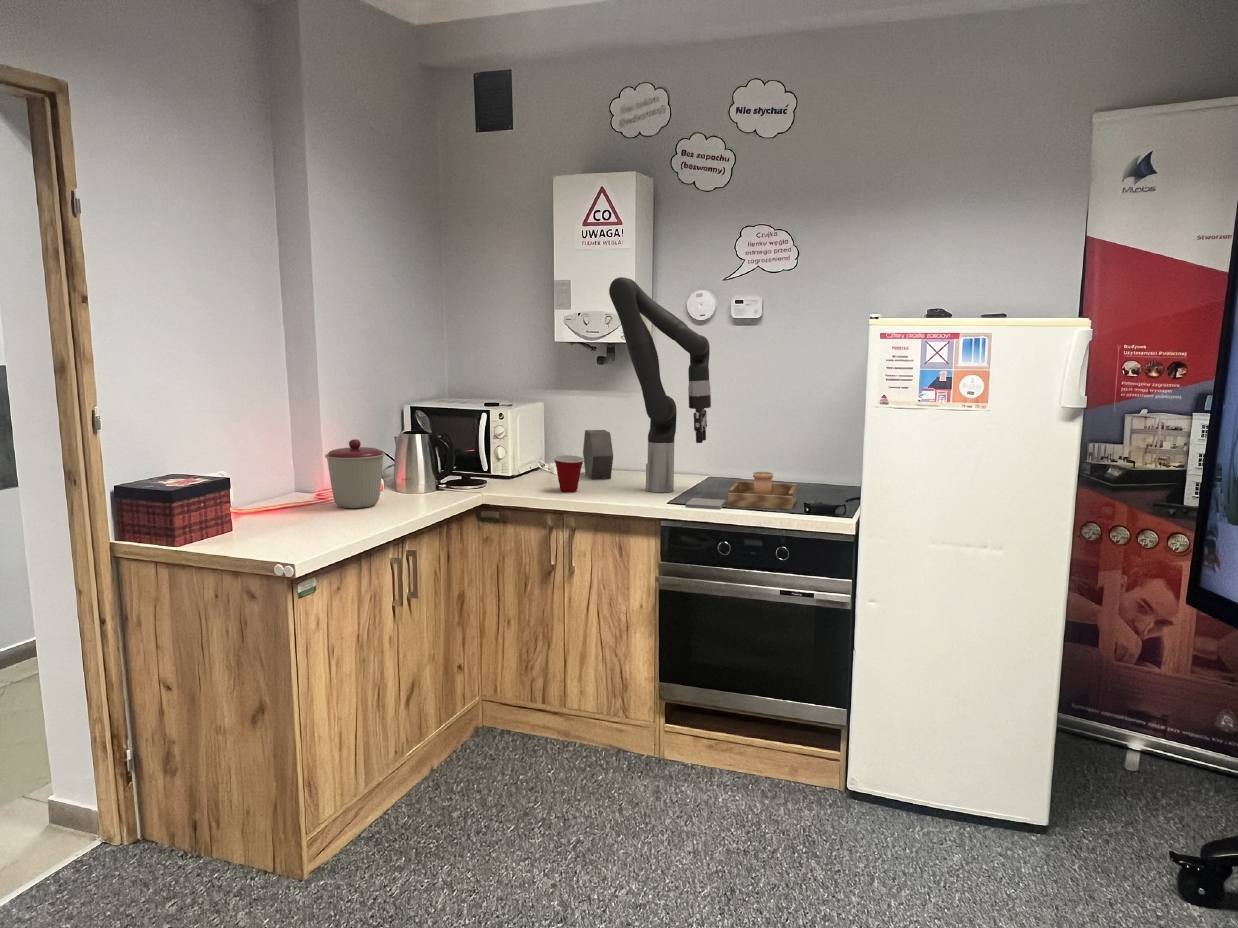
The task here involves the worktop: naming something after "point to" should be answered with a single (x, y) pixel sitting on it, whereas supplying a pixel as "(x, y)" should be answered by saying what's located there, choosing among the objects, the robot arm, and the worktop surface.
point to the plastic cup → (568, 471)
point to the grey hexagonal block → (598, 454)
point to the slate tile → (705, 503)
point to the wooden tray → (762, 496)
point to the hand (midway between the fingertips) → (701, 441)
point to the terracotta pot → (762, 483)
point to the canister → (355, 475)
